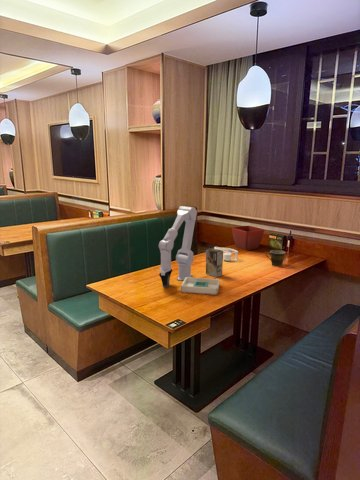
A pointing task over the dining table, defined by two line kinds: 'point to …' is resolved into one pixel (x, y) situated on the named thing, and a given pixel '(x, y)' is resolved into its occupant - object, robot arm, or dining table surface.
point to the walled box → (200, 285)
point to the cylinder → (167, 282)
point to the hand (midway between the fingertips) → (166, 283)
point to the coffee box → (214, 262)
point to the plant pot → (247, 237)
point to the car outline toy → (228, 253)
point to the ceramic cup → (276, 257)
